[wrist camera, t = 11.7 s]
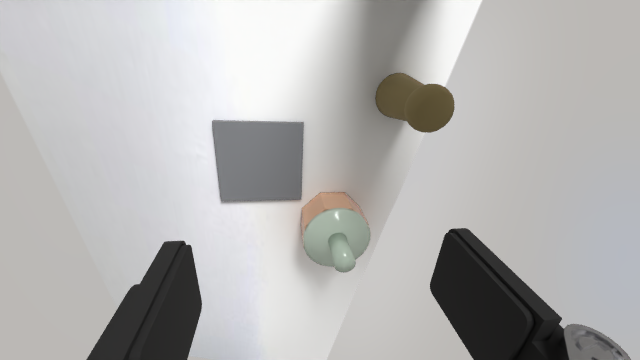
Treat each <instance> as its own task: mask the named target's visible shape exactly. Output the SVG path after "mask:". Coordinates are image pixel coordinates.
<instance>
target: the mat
mask: <svg viewBox="0 0 640 360" xmlns="http://www.w3.org/2000/svg"><path fill="white" fill-rule="evenodd" d="M212 125H213V134H214V142H215V151H216V160H217V169H218V178H219V187H220V196H221V201H252V200H298V199H301V192H302V159H303V126H304V123H303V122H270V121H223V120H213V121H212Z"/></svg>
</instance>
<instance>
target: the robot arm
mask: <svg viewBox="0 0 640 360" xmlns="http://www.w3.org/2000/svg"><path fill="white" fill-rule="evenodd" d="M430 289H431V292H432V294H433V296H434V297H435V299H436V301H437V302H438V304H439V305H440V307H441V309H442V310H443V312H444V313H445V315H446V316H447V318H448V320H449V321H450V323H451V324H452V326H453V328H454V329H455V331H456V332H457V334H458V336H459V337H460V339H461V340H462V342H463V343H464V345H465V347H466V348H467V349H468V351H469V353H470V355H471V356H472V358H473V359H474V360H631V359H630V357H629V356H628V354H627V353H626V352H625V351H624V350H623V349H622V348H621V347H620V346H619V345H618V344H617V343H615V342H614V341H613V340H612V339H610V338H609V337H607V336H605V335H604V334H602V333H600V332H598V331H596V330H594V329H592V328H590V327H587V326H583V325H579V324H570V325H567V326H566V327H565V328H564V329H563V328H562V327H561V326H560V325H559V323H560V321H561V320H562V318H561V317H560V316H559V315H558V314H557V313H556V312H555V311H554V310H552V308H550V306H548V305H547V304H546V303H545V302H544V301H543V300H542V299H541V298H540V297H539V296H538V295H537V294H536V293H535V292H534V291H533V290H532V289H530V288H529V287H528V286H527V285H526V284H525V283H524V282H523V281H522V280H521V279H520V278H519V277H518V276H517V275H516V274H515V273H514V272H513V271H512V270H511V269H510V268H508V267H507V266H506V265H505V264H504V263H503V262H502V261H501V260H500V259H499V258H498V257H497V256H496V255H495V254H494V253H493V252H492V251H490V249H488V248H487V247H486V246H485V245H484V244H483V243H482V242H481V241H480V240H479V239H478V238H477V237H476V236H475V235H474V234H473V233H471V231H470V230H468V229H466V228H461V229H451V230H449V232H448V233H446V234H445V237H444V240H443V243H442V247H441V250H440V253H439V256H438V259H437V263H436V266H435V269H434V273H433V276H432V279H431V282H430ZM201 308H202V301H201V295H200V290H199V285H198V279H197V274H196V269H195V263H194V258H193V253H192V248H191V245H186V243H185V242H184V241H168V242H164V244H163V245H162V247H161V248H160V250H159V252H158V254H157V255H156V257H155V259H154V260H153V262H152V264H151V266H150V267H149V269H148V271H147V272H146V274H145V276H144V278H143V279H142V281H141V283H140V284H137V285H134V286H132V287H131V288H130V290H129V291H128V293H127V294H126V296H125V298H124V299H123V301H122V302H121V304H120V306H119V307H118V309H117V311H116V313H115V314H114V316H113V317H112V319H111V321H110V322H109V324H108V325H107V327H106V329H105V330H104V332H103V334H102V335H101V337H100V339H99V340H98V342H97V343H96V345H95V347H94V348H93V350H92V352H91V353H90V355H89V357H88V358H87V360H187V358H188V355H189V351H190V348H191V344H192V341H193V337H194V334H195V330H196V327H197V324H198V320H199V317H200V313H201Z"/></svg>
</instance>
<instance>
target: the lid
mask: <svg viewBox="0 0 640 360" xmlns="http://www.w3.org/2000/svg"><path fill="white" fill-rule="evenodd" d="M369 241H370V229H369V227H368V224H367V222H366V221H365V219H364V218H363V217H362V216H361V215H360V214H359V213H357V212H356V211H354V210H351V209H347V208H333V209H329V210H326V211H323V212H321V213H319V214H318V215H316V216H315V217H314V218H313V219H312V220H311V221H310V222H309V223H308V225H307V226H306V228H305V231H304V235H303V243H304V248H305V251H306V253H307V255H308V256H309V257H310V258H311V259H312V260H313V261H314V262H316V263H318V264H320V265H324V266H331V267H334V266H335V269H336V270H337V271H339V272H348V271H350V270H352V269H353V268H354V266H355V263H356V262H355V260H356V259H357V258H358V257H360V256H361V255H362V254H363V253H364V251H365V250H366V248H367V247H368V244H369Z"/></svg>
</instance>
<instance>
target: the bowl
mask: <svg viewBox="0 0 640 360" xmlns="http://www.w3.org/2000/svg"><path fill="white" fill-rule="evenodd" d="M333 208H347V209H351V210H354V211H356V212H357V213H359V214H360V215H361V216H362V217H363V218H364V219H365V217H364V215H363V213H362V211H361V209H360V207H359V206H358V205H357V204H356V203H355V202H354V201H353V200H352V199H351V198H350V197H349V196H348V195H347V194H346V193H345V192H333V193H319V194H318V195H317V196H316V197H315V198H313V199H312V200H311V201H310V202H309V203H308V204H306V205H305V206H304V207H303V208H302V221H301V231H302V238H303V235H304V231H305V228H306V226H307V225H308V223H309V222H310V221H311V220H312V219H313V218H314V217H315V216H316V215H318V214H319V213H321V212H323V211H326V210H329V209H333ZM365 221H366V222H367V220H366V219H365ZM367 224H368V222H367ZM303 246H304V243H303ZM304 249H305V248H304Z"/></svg>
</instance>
